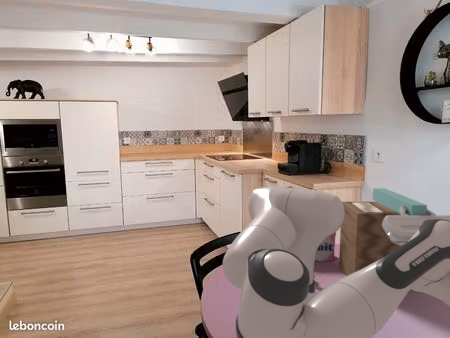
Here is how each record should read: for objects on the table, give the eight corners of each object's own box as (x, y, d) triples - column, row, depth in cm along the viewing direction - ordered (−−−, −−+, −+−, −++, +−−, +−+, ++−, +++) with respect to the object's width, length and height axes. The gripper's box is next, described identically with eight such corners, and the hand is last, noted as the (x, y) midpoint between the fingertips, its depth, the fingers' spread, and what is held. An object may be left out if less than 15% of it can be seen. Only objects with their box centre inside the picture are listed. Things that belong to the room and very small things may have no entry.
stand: (354, 287, 117) (357, 212, 114) (339, 265, 135) (341, 200, 132) (419, 288, 116) (424, 213, 113) (395, 266, 134) (399, 201, 131)
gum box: (333, 254, 147) (334, 223, 145) (337, 261, 139) (339, 229, 138) (277, 253, 149) (277, 223, 147) (278, 260, 141) (279, 228, 139)
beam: (411, 219, 93) (412, 205, 93) (372, 199, 119) (373, 188, 119) (425, 219, 93) (426, 205, 93) (384, 199, 119) (384, 188, 119)
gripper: (389, 253, 88) (372, 215, 99) (470, 253, 88) (443, 215, 99) (396, 237, 84) (377, 199, 95) (481, 237, 84) (452, 199, 95)
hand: (411, 207), depth 97 cm, fingers closed on beam, 4 cm apart
